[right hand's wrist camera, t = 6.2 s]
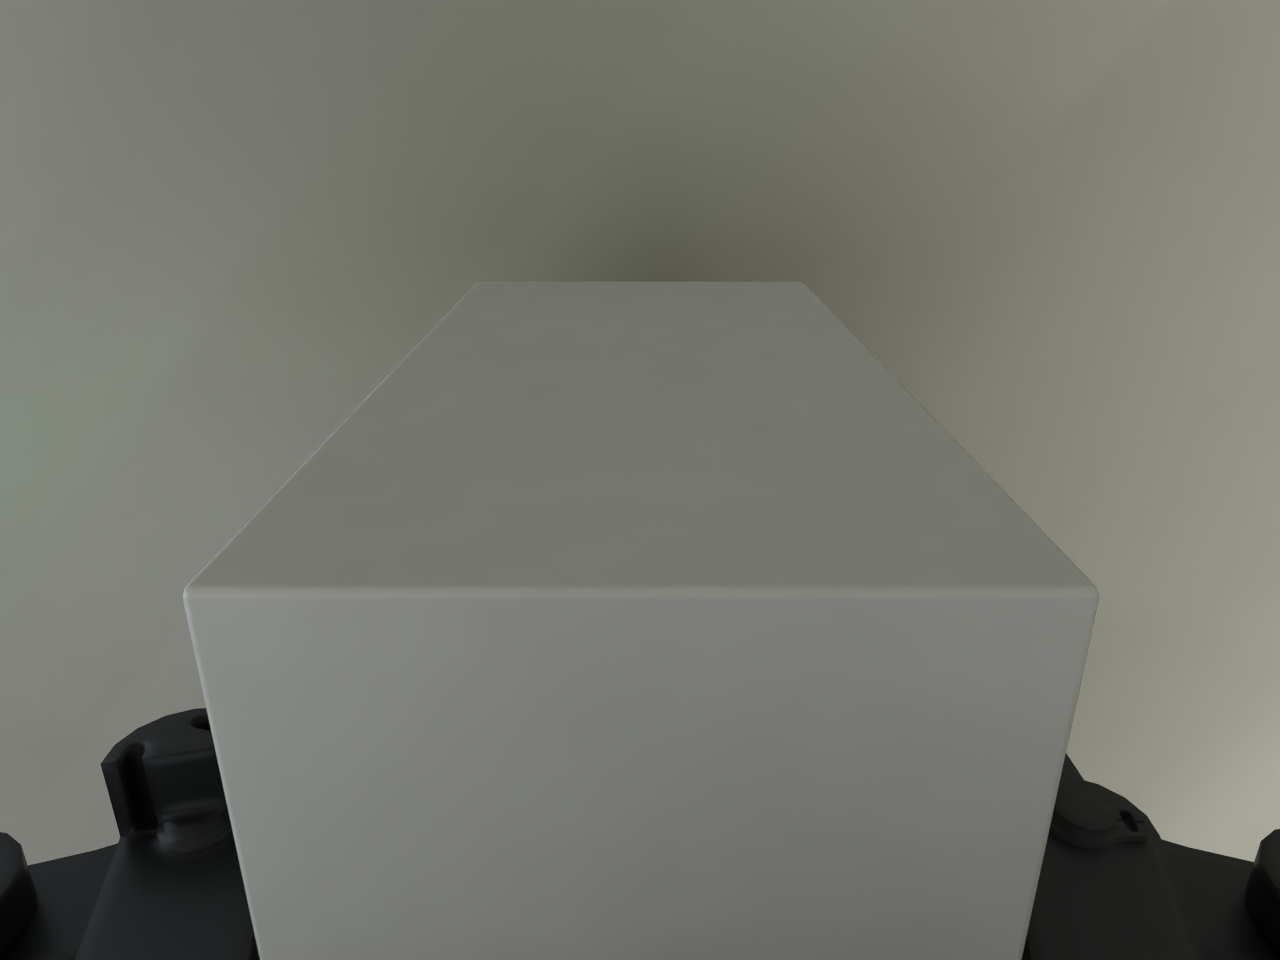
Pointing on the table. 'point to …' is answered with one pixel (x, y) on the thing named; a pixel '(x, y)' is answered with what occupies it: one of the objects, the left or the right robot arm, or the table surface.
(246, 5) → the table surface
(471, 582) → the bar
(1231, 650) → the table surface
